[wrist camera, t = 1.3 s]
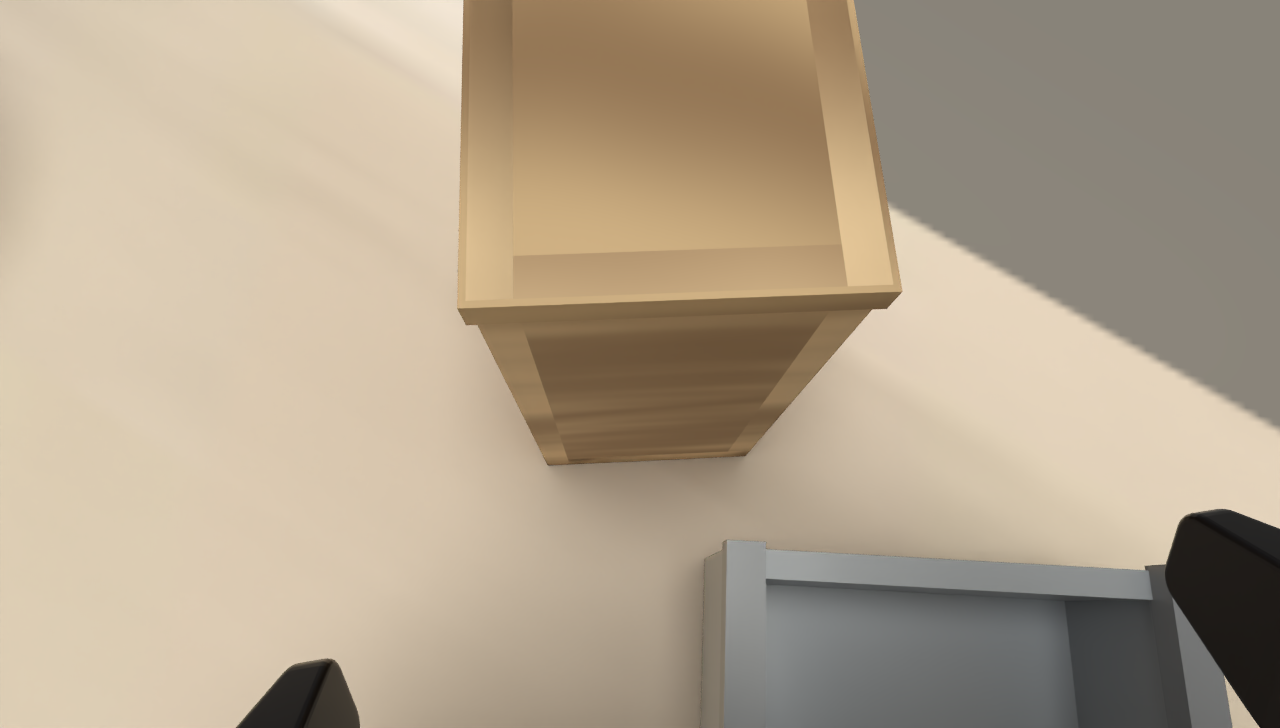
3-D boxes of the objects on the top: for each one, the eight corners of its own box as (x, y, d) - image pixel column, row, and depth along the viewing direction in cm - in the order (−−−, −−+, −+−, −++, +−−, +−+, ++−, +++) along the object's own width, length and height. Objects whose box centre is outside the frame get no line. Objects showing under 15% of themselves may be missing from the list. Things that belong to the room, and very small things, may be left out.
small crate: (749, 459, 21) (902, 291, 10) (544, 469, 21) (457, 308, 10) (731, 272, 23) (844, -57, 12) (541, 279, 23) (464, -50, 11)
